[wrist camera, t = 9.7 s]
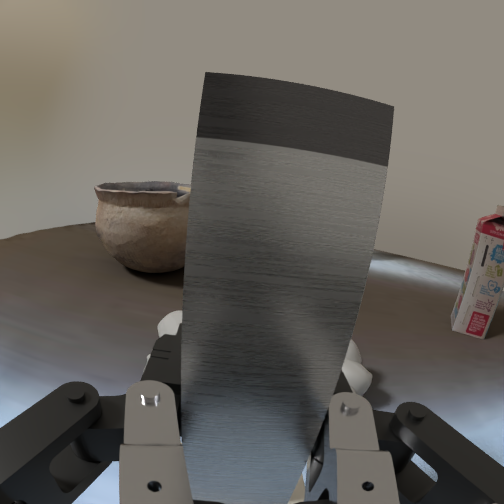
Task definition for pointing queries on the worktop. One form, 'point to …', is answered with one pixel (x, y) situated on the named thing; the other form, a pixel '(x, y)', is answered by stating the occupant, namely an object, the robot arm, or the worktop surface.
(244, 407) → the grey long square block
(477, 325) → the juice carton
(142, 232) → the ceramic bowl
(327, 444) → the robot arm
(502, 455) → the worktop surface
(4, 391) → the worktop surface
